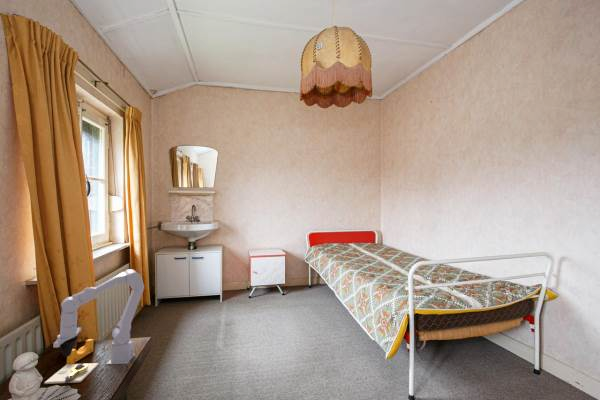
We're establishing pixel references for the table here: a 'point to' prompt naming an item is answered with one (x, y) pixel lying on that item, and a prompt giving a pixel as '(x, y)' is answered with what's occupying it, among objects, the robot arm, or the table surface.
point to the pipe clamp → (80, 352)
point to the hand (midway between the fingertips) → (67, 355)
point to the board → (66, 371)
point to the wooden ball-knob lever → (76, 372)
